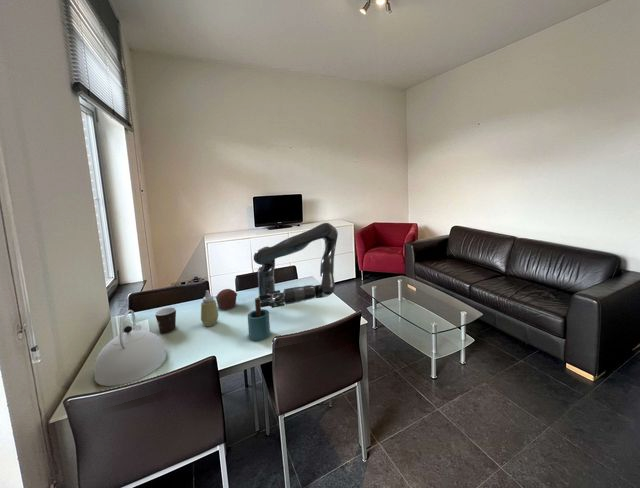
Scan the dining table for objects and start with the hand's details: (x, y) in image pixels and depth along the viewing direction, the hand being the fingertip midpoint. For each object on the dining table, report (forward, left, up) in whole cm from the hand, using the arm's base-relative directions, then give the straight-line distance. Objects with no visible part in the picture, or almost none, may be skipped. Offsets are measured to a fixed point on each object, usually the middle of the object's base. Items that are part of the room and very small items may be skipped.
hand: (259, 301), depth 141 cm
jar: (0, -1, -17) cm, 17 cm away
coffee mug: (-24, -42, -17) cm, 51 cm away
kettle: (0, -50, -17) cm, 53 cm away
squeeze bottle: (-23, -23, -17) cm, 37 cm away
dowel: (0, -1, -16) cm, 16 cm away
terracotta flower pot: (-41, -15, -17) cm, 47 cm away
